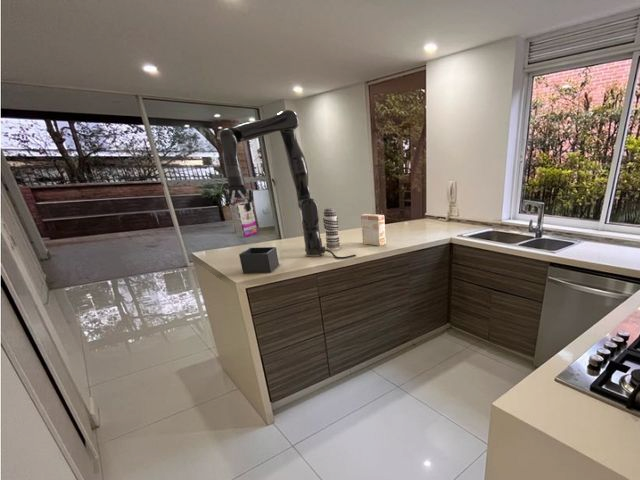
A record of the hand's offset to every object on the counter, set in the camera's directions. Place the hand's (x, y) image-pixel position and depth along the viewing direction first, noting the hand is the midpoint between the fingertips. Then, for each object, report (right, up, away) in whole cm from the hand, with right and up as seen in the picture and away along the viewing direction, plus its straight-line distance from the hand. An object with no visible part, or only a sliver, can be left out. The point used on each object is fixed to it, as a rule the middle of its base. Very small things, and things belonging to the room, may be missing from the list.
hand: (242, 210), depth 172 cm
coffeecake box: (+59, -5, +59) cm, 84 cm away
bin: (+8, -29, +4) cm, 30 cm away
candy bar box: (0, -12, +5) cm, 13 cm away
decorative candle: (+35, -10, +47) cm, 59 cm away
